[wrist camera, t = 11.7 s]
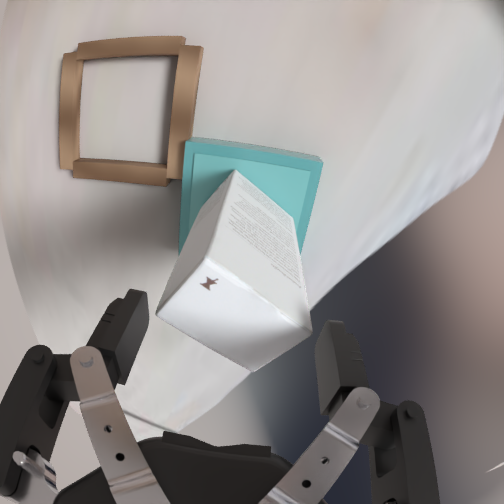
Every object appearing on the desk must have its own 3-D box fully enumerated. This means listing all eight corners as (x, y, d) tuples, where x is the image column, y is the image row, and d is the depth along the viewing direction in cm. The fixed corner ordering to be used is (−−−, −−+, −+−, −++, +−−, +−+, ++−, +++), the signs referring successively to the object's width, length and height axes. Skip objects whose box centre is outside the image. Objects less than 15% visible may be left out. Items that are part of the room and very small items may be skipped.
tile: (191, 136, 22) (185, 141, 20) (319, 156, 23) (323, 163, 21) (183, 247, 27) (177, 259, 25) (292, 263, 28) (294, 277, 26)
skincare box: (199, 207, 23) (149, 314, 13) (235, 167, 21) (204, 252, 11) (259, 254, 25) (253, 376, 15) (296, 219, 23) (317, 333, 13)
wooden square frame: (72, 46, 18) (64, 45, 17) (205, 39, 18) (202, 36, 17) (67, 172, 24) (60, 176, 23) (187, 184, 24) (184, 188, 23)
